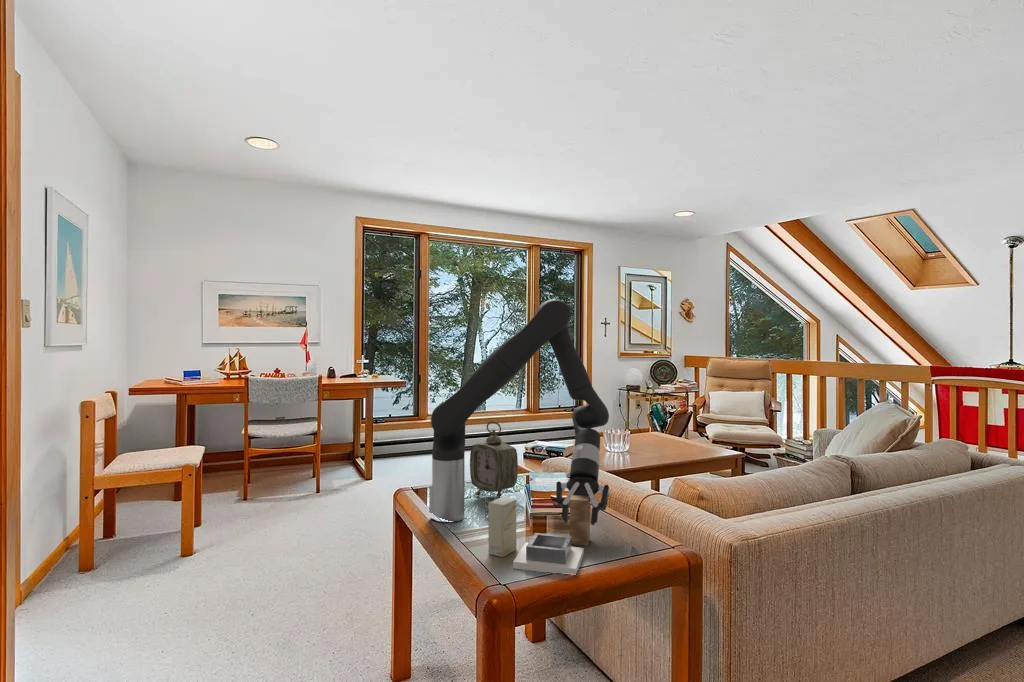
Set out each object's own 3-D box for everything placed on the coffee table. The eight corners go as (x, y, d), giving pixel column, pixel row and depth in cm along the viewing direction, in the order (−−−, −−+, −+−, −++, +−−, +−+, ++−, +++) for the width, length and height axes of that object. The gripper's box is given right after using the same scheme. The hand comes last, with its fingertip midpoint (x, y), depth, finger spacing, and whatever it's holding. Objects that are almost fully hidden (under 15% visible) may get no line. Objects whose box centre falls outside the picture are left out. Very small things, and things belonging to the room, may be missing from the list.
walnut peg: (570, 543, 129) (569, 499, 130) (572, 537, 134) (572, 494, 134) (587, 545, 128) (587, 500, 128) (589, 539, 132) (589, 495, 133)
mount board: (512, 568, 115) (512, 548, 115) (526, 548, 126) (526, 529, 126) (576, 575, 111) (576, 554, 111) (583, 554, 123) (583, 535, 123)
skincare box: (503, 558, 121) (503, 505, 121) (487, 554, 123) (487, 502, 123) (517, 549, 126) (517, 498, 126) (501, 545, 128) (501, 496, 128)
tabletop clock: (469, 496, 171) (469, 420, 171) (490, 491, 177) (490, 417, 177) (498, 506, 160) (498, 425, 160) (520, 500, 166) (520, 422, 166)
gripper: (557, 455, 140) (548, 512, 129) (611, 458, 136) (607, 517, 125) (560, 470, 145) (552, 527, 134) (612, 473, 141) (609, 532, 130)
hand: (579, 522), depth 129 cm, fingers open, 6 cm apart
